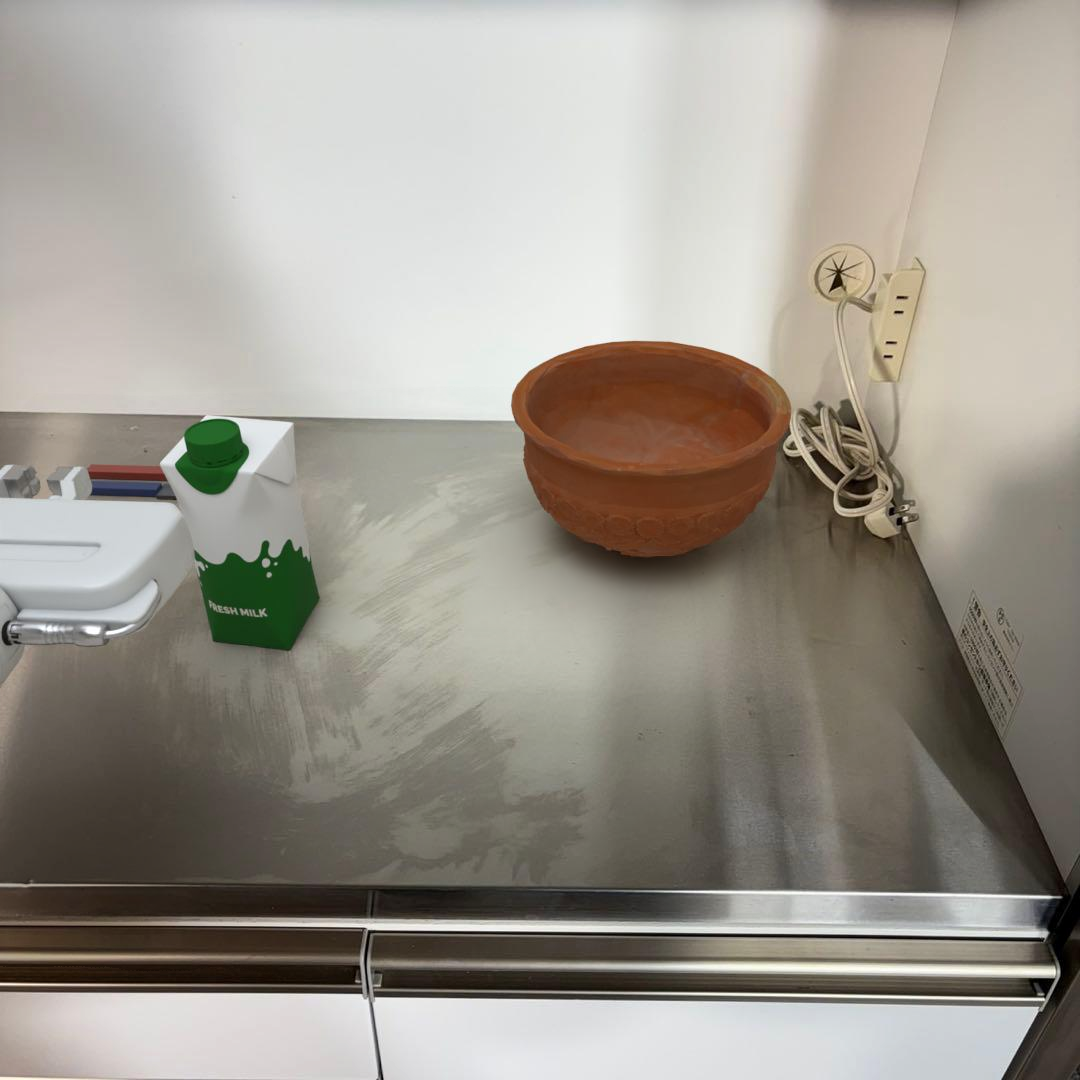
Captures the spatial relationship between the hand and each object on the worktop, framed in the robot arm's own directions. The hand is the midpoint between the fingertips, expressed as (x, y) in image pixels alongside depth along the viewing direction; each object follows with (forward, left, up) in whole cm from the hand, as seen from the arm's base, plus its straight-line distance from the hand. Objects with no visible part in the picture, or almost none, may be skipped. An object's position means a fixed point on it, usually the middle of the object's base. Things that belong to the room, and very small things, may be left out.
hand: (51, 475), depth 55 cm
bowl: (+36, +33, -26) cm, 55 cm away
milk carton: (+3, +18, -26) cm, 32 cm away
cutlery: (-14, +39, -26) cm, 49 cm away
